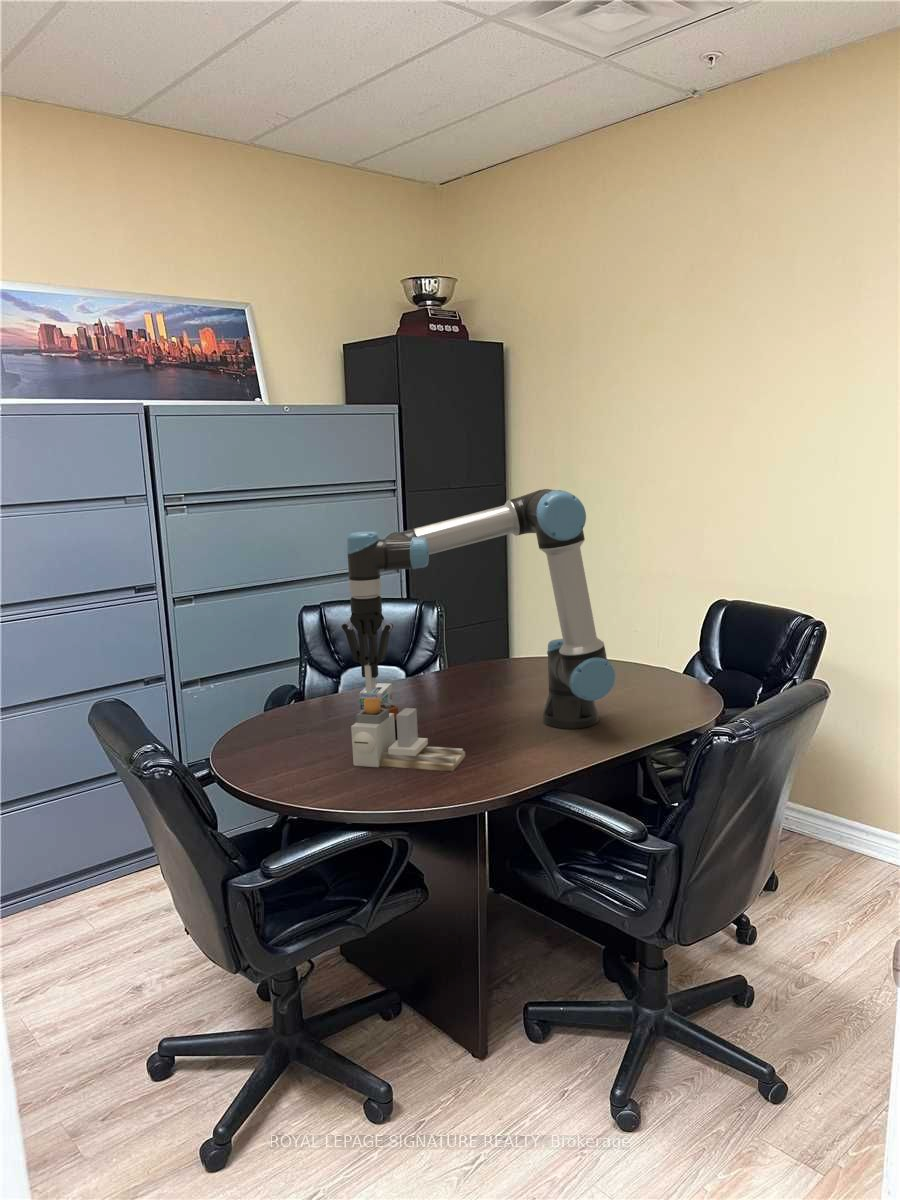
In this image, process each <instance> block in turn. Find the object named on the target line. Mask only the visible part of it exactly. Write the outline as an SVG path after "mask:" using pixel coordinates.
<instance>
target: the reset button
mask: <svg viewBox="0 0 900 1200" xmlns="http://www.w3.org/2000/svg"><path fill="white" fill-rule="evenodd" d="M380 711H381V709H380V699H379V698H374V697H373V698H366V699H364V712H365V713H367V714H375V713H379V712H380Z"/></svg>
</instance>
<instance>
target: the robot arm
mask: <svg viewBox="0 0 900 1200" xmlns="http://www.w3.org/2000/svg"><path fill="white" fill-rule="evenodd" d="M586 521H587V514H586V509H585V506H584V504H583V502H582V501H581V499H579V498H578V497H577V496H576V495H574V494H572V493H571V492H569V491H566V490H561V489H557V490H556V489H549V488H544V489H543V488H542V489H539V490H536V491H533V492H529V493H528V494H524V495H521V496H518V497H515V498H512V499H508V500H506V502H505V503H504V505H501V506H497V507H491V508H488V509H485V510H481V511H476V512H473V513H470V514H465V515H462V516H457V517H454V518H450V519H447V520H442V521H439V522H435V523H430V524H426V525H424V526H419V527H416V528H412V529H407V530H404V531H400V532H399V531H393V532H390V533H388V534H386V535H385V536H384V537H383V539H382V538H379V533H378V532H376V531H357V532H352V533H350V534H349V535H348V536H347V537H346V538H347V551H346V553H347V563H348V564H347V565H348V576H349V577H348V579H349V595H350V596H351V598H350V599H349V600H350V612H351V615H350V616H349V617H350V618H349V620H348V621H347V622H345V623H343V624H342V625H341V628H342V630H343V632H344V633H345V635H346V639H347V642H348V646H349V650H350V652H351V657H352V661H353V662H354V663H359V664H360V666H361V668H360V669H361V677H362V678H364V681H365V687H366V691H368V692H372V691H373V690H375V689H376V683H377V682H376V678H378V677H379V664H381V663H382V662H384V661H385V660H386V656H387V650H388V645H389V640H390V633H391V632H392V630H393V628H394V625H393V623H389V622H388V621H386V620H385V618H384V615H383V605H382V597H381V595H380V594H381V593H382V587H381V585H382V583H381V571H392V570H394V571H395V570H412V569H413V570H416V569H423V568H426V567H427V566H428V565H429V562H430V555H432V554H437V553H440V552H444V551H447V550H448V551H449V550H453V549H455V548H456V549H457V548H460V547H464V546H467V545H471V544H472V545H473V544H475V543H479V542H480V543H481V542H483V541H487V540H491V539H495V538H499V537H502V536H507V535H510V534H512V535H514V536H516V537H517V536H521V535H526V534H535V535H536V540H537V544H538V549H539V551H540V550H541V551H542V552H543V553H544V554H545V555H546V558H547V565H548V570H549V575H550V580H551V585H552V589H553V595H554V600H555V605H556V610H557V617H558V620H559V621H558V622H559V627H560V631H561V632H560V633H561V637H562V638H558V639H552V640H550V641H549V642H548V644H547V652H546V654H547V675H548V677H547V679H548V695H547V699H546V702H545V705H544V708H543V712H542V722H543V723H544V724H545V725H547V726H549V727H553V728H556V729H557V728H559V729H569V730H570V729H572V730H573V729H575V730H576V729H582V728H583V729H584V728H588V727H592V726H595V725H596V724H597V723H598V722H599V711H598V708H597V706H596V703H595V701H598V700H601V699H603V698H604V697H607V695H608V694H609V693H610V691H611V690H612V689H613V687H614V685H615V682H616V670H615V668H614V666H613V665H612V663H611V662H610V660H608V657H607V651H606V647H605V642H604V641H603V640H601V639H600V638H598V636H597V631H596V627H595V622H594V621H595V620H594V615H593V610H592V606H591V605H592V604H591V599H590V593H589V588H588V583H587V577H586V573H585V568H584V567H585V566H584V561H583V555H582V551H581V546H583V543H584V542H585V541H586V537H585V533H584V527H585V525H586ZM354 628H355V629H354ZM379 629H381V631H382V632H381V635H380V640H379V645H378V634H379V633H378V631H379ZM355 630H356V631H357V636H356V632H355ZM357 637H358V639H357Z"/></svg>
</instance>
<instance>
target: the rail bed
mask: <svg viewBox="0 0 900 1200" xmlns="http://www.w3.org/2000/svg"><path fill="white" fill-rule="evenodd" d="M465 758H466V752H465V751H464V748H460V747H459V748H458V747H457V748H456V747H455V748H454V747H442V746H430V745H429V746H428V745H426V746H425V747H424V748H423V749H422V750H421V751H420V752H419V753H418V754H417V755H416V756H408V755H394V754H388V752H383V753H382V759H381V760H380V763H381V765H380V767H389V768H402V769H404V768H405V769H414V770H415V769H416V770H417V769H418V770H427V771H441V772H443V771H444V772H454V771H455V770H456V768H457V767H458V766H459V765H460V764H461V762H463V760H464V759H465Z"/></svg>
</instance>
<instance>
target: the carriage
mask: <svg viewBox="0 0 900 1200" xmlns="http://www.w3.org/2000/svg"><path fill="white" fill-rule="evenodd" d="M396 718H397V737H398V740H396V742H395V743H393V744H392V745H391V746H390V747H389V748H388V754H394V755H408V756H416V755H417V754H418V753H419V752H420V751H421V750H422V749H423V748H424V747H425V746H428V744H429V741H428V740H429V739H428V737H419V735H418V733H419V732H418V731H419V730H418V713H417V708H413V707H412V708H410V707H405V708H403V709H402V710H400V712H398V714H397V715H396Z"/></svg>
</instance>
